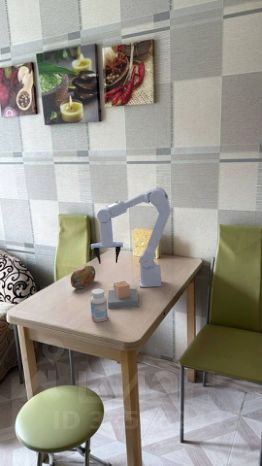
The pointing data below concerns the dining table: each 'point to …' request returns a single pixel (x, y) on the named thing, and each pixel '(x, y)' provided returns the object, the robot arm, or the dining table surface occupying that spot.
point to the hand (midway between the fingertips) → (108, 262)
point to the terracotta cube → (122, 289)
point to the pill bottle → (98, 305)
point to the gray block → (123, 300)
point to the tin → (82, 277)
